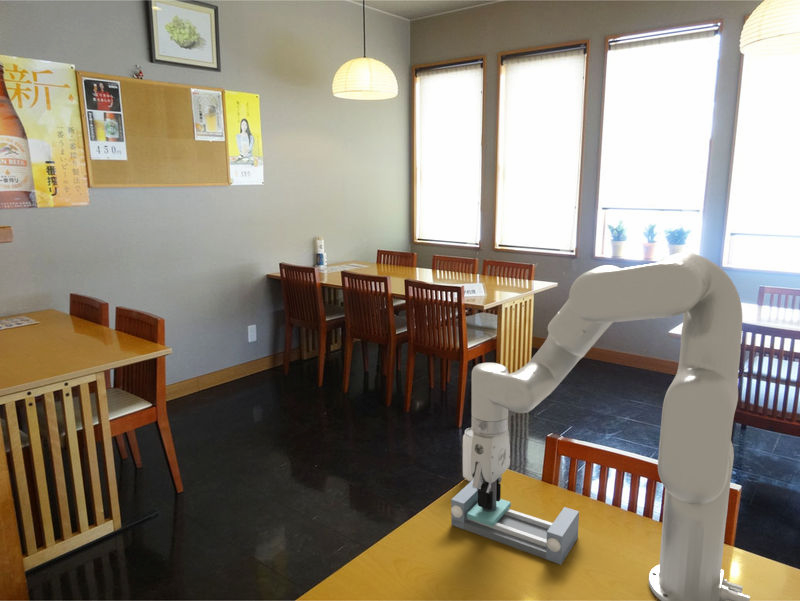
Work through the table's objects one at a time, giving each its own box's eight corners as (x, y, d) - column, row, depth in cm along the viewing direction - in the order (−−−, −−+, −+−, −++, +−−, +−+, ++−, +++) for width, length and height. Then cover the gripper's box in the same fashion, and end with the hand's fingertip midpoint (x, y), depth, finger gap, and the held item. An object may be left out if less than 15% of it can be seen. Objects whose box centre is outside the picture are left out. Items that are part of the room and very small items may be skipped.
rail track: (577, 537, 116) (578, 511, 115) (560, 565, 108) (561, 537, 106) (473, 503, 129) (473, 479, 128) (450, 525, 121) (450, 500, 120)
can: (488, 470, 144) (488, 426, 141) (489, 483, 138) (490, 438, 135) (462, 470, 145) (462, 426, 142) (462, 483, 138) (462, 437, 136)
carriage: (510, 506, 123) (511, 472, 122) (492, 526, 116) (492, 491, 114) (485, 498, 127) (486, 465, 125) (466, 517, 119) (466, 483, 118)
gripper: (488, 441, 109) (488, 528, 112) (522, 413, 122) (521, 491, 125) (454, 433, 113) (454, 516, 116) (490, 406, 126) (490, 481, 130)
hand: (489, 502), depth 121 cm, fingers closed on carriage, 3 cm apart
